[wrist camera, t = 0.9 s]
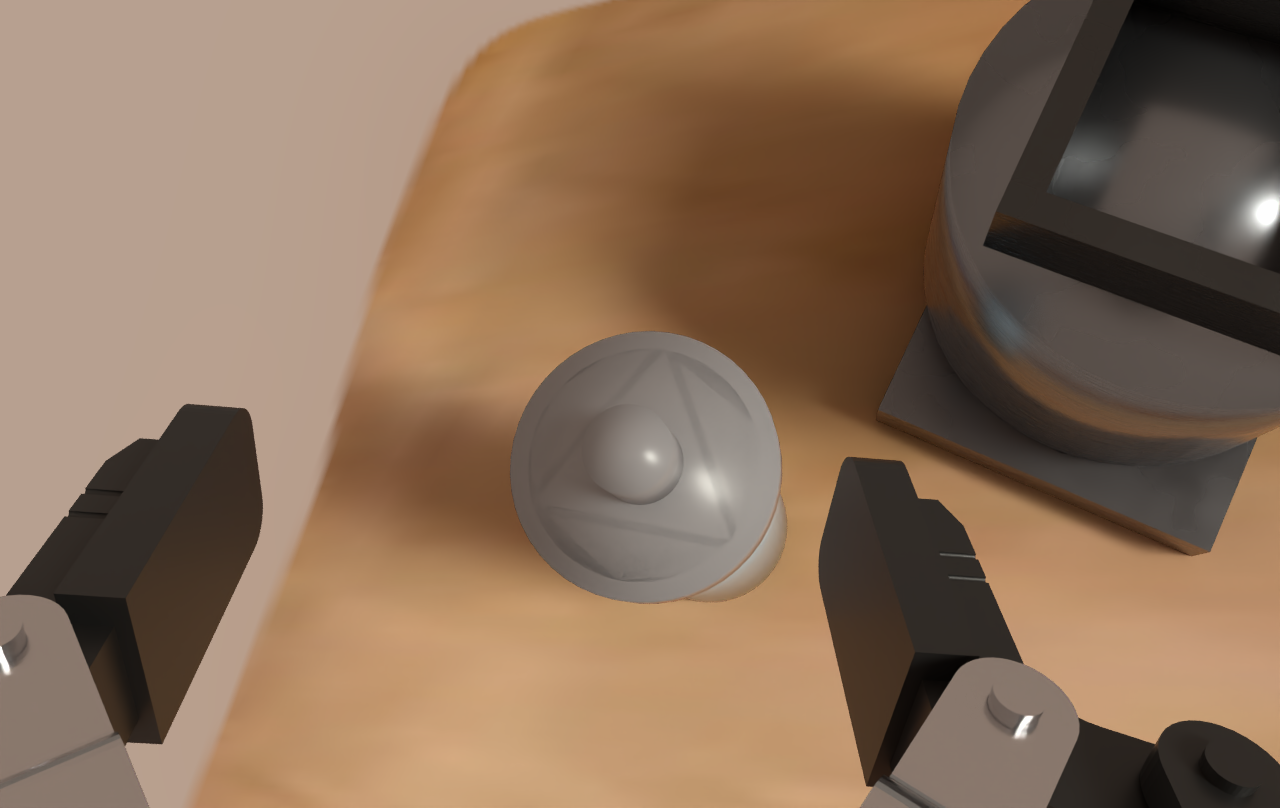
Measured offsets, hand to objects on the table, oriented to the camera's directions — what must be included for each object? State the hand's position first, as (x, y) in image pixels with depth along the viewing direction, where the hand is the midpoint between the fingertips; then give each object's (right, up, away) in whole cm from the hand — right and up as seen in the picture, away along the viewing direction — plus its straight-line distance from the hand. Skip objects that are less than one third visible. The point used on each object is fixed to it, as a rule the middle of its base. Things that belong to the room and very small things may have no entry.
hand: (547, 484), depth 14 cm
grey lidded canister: (+4, -3, +19) cm, 19 cm away
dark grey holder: (+16, +5, +18) cm, 25 cm away
